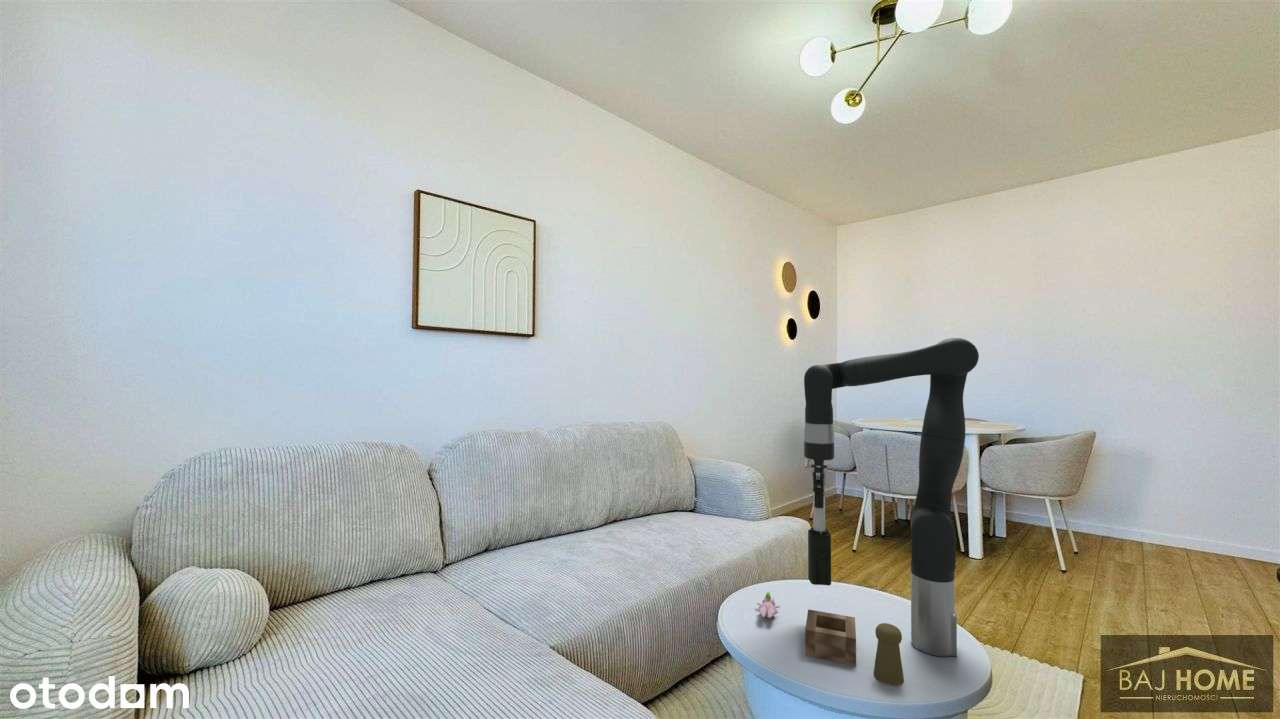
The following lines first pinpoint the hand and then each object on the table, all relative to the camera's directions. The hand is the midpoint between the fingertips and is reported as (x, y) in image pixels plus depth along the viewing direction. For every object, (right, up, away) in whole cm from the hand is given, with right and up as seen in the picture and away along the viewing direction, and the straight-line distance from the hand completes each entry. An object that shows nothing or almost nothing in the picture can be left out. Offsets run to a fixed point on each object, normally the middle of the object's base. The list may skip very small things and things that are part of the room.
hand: (819, 505), depth 134 cm
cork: (+7, -31, -23) cm, 39 cm away
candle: (0, -20, -1) cm, 20 cm away
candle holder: (-1, -31, -12) cm, 33 cm away
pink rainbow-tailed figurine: (-12, -32, +5) cm, 34 cm away
